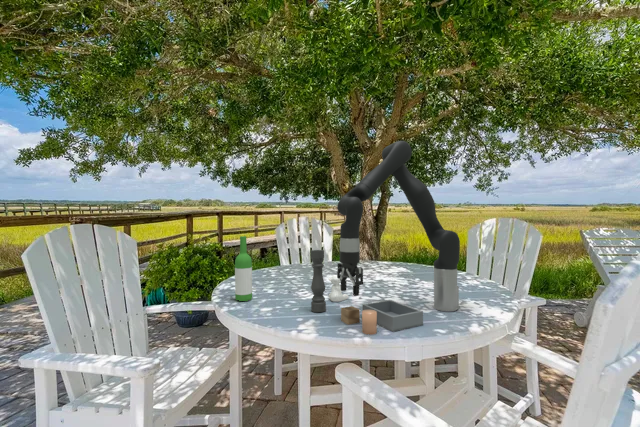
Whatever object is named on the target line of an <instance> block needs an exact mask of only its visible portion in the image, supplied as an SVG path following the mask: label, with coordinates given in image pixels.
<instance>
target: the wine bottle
mask: <svg viewBox="0 0 640 427" xmlns="http://www.w3.org/2000/svg"><path fill="white" fill-rule="evenodd" d="M247 250H248V247H247V236H246V235H245V236H244V235H243V236H242V235H241V236H240V237H239V254H238V255H237V256H236V257H235V261H234V291H235V292H234V293H235V294H234V295H235V296H234V297H235V301H237V300H239V301H246V302H249V301H248V300H250V301H251V300H252V299H253V263H252V262H253V259H252V257H251V256H250V255H249V253H247ZM239 301H238V302H239Z"/></svg>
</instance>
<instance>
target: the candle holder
mask: <svg viewBox="0 0 640 427" xmlns="http://www.w3.org/2000/svg"><path fill="white" fill-rule="evenodd" d="M310 259H311V262H312V264H311V267H312V269H313V270H312V272H313V274H312V279H311V280H312V281H311V286H310V290H311V292H312V294H313V296H312V298H311V304H310V305H311V307H310V308H311V309H310V310H311V312H313V313H324V312H326V310H327V303H326V298H325V296H324V292H326V285H325V281H324V276H323V267H324V266H325V265H324V263H323V262H324V259H325V250H324V249H311V250H310Z"/></svg>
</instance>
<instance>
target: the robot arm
mask: <svg viewBox="0 0 640 427" xmlns="http://www.w3.org/2000/svg"><path fill="white" fill-rule="evenodd" d="M412 152H413V151H412V147H411V146H410V143H408V142H407V141H405V140H398V141H395V142H393V143H391V144H389V145H387V146H385V147H384V148H383V150H382V152H381V157H382V161H381V162H380V163H378V165H377V166H375V167H374V168H373V169H372V170H371V171H369V172H368V173H367V174H366V175H365V176H364V177H363V178H362V179H361V180H360V181H359V182H358V183H357V185H356V186H354V187H353V188H352V189H350V190H349V191H348V192H346V193H345V194H344V195H343V196H342V197H340V199H339V200H338V201H337V202H338V203H337V208H336V209H337V211H338V213H339V214H340V215H342V216H345V221H344V222H342V223H341V224H340V238H339V240H340V241H339V263H337V268H336V269H337V270H336V271H337V273H336V275H337V278H339V279H340V285H341V292H345V291H347V279H348V278H349V280H350V281H351V283H352V295H353V296H354V297H357V296H359V295H360V286H361V285H364V268H363V267H358V264H359V263H360V261H361V258H360V257H361V255H360V254H361V251H360V250H361V248H360V246H361V244H360V226H361V223H362V222H361V221H362V218H363V213H364V205H363V202H365V201H367V200H369V199H371V197H372V196H374V194H375V193H376V191H377V190H378V189H379V188H380V187H381V186H382V185H383V184H384V183H385V181H386V180H387V179H388V178H389V177H390V176H391V175H393V177H394V179H395V180H396V181H397V184H398V185H399V187H400V188H401V190H402V192H403V193H404V195H405V197H406V199H407V202H408V203H409V205H410V206H411V208H412V210H413V211H414V213H415V215H416V216H417V218H418V220H419V222H420V224H421V225H422V227H423V229H424V231H425V233H426V236H427V238H428V241H429V243H430V245H431V246H432V247H433V249H434V250H436V251H438V258H437V259H435V260H434V261H433V309H435V310H437V311H441V312H456V311H457V310H458V309H460V308H459V307H460V302H459V301H460V299H459V298H460V296H459V295H460V293H459V291H460V288H459V285H458V264H459V262H460V252H461V251H460V250H461V241H460V237H459V234H458V233H457V232H455V231H453V230H449V229H448V230H447V229H444V227H443V226H442V224H441V222H440V221H439V219H438V217H437V212H436V204H435V200H434V197H433V196H432V193H431V191H430V190H429V189H428V187H427V185H426V184H425V183H423V182H422V181H421V180H420V179H418V178H417V177H416V176H415V175H413V174H412V172H410V171H409V169H408V167H407V166H406V164H405V163H407V162H408V161H409V160H410V159H411V156H412V154H413V153H412Z"/></svg>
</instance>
